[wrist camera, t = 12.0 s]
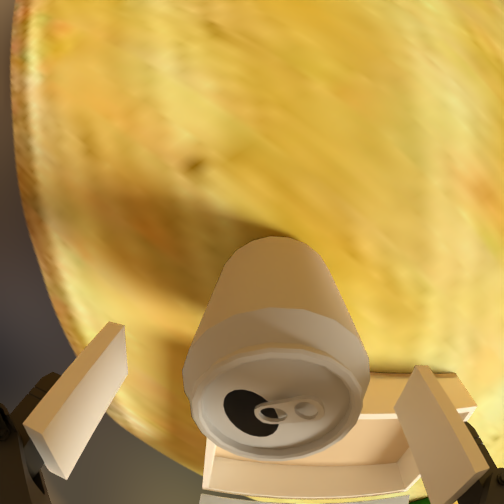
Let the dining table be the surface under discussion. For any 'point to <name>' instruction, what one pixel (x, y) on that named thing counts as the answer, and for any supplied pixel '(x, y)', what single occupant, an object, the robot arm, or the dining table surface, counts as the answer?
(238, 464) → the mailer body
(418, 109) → the dining table surface
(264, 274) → the can
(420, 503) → the milk carton
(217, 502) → the lid
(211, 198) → the dining table surface
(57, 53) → the dining table surface
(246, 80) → the dining table surface
